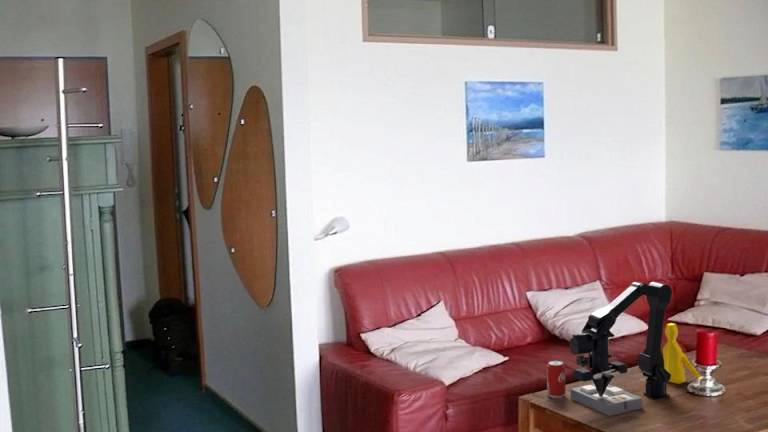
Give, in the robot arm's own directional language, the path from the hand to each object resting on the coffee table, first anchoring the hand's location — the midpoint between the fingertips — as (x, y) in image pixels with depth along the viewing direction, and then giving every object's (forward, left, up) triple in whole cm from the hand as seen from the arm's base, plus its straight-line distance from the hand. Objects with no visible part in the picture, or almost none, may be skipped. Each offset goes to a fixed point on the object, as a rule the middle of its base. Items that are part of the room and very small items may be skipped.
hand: (600, 395), depth 281 cm
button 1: (0, -6, -1) cm, 6 cm away
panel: (-3, -1, -4) cm, 5 cm away
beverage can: (+7, -16, -4) cm, 18 cm away
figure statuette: (-38, -6, -4) cm, 39 cm away
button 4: (-6, 0, -1) cm, 6 cm away
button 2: (0, 0, -3) cm, 3 cm away
